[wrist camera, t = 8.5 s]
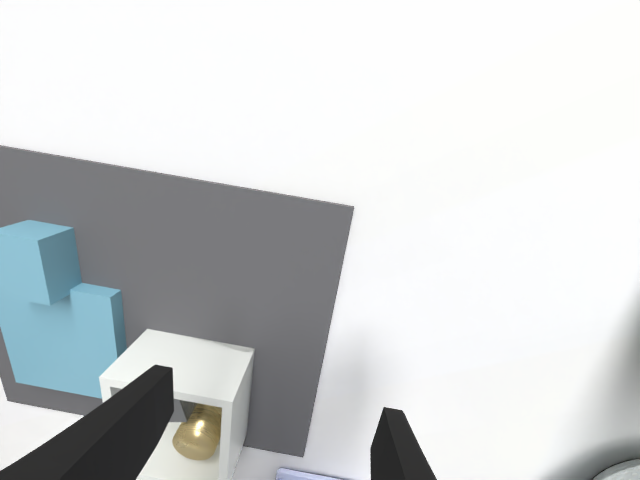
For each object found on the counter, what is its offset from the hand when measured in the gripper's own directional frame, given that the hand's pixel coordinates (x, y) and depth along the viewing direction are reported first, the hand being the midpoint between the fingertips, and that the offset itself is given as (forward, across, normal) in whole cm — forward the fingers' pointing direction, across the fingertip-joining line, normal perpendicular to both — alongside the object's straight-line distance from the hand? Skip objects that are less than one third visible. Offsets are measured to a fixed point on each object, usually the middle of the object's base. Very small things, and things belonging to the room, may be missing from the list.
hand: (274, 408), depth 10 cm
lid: (+10, +17, +6) cm, 21 cm away
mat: (+10, +11, +6) cm, 16 cm away
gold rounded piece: (+9, +6, +12) cm, 17 cm away
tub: (+10, +7, +11) cm, 16 cm away
